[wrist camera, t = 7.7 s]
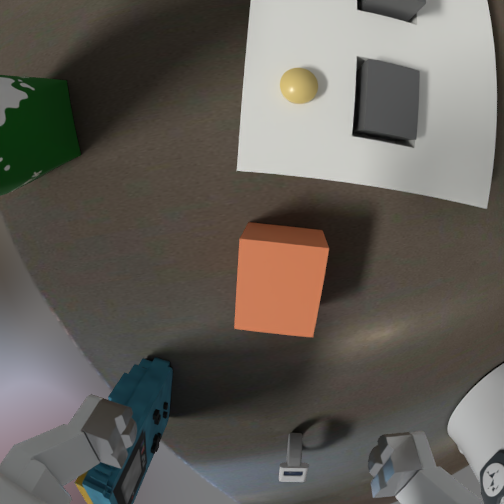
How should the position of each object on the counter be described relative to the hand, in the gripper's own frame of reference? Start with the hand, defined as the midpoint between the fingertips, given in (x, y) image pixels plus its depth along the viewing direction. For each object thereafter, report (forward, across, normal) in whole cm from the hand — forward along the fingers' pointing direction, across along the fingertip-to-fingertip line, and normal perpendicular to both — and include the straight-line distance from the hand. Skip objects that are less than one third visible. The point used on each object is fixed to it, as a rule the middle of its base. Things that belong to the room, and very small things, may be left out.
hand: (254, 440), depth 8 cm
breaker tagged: (+15, +5, +12) cm, 20 cm away
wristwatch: (+15, +4, -20) cm, 26 cm away
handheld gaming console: (+15, -10, -15) cm, 24 cm away
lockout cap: (+15, 0, 0) cm, 15 cm away
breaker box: (+15, +6, +16) cm, 23 cm away
